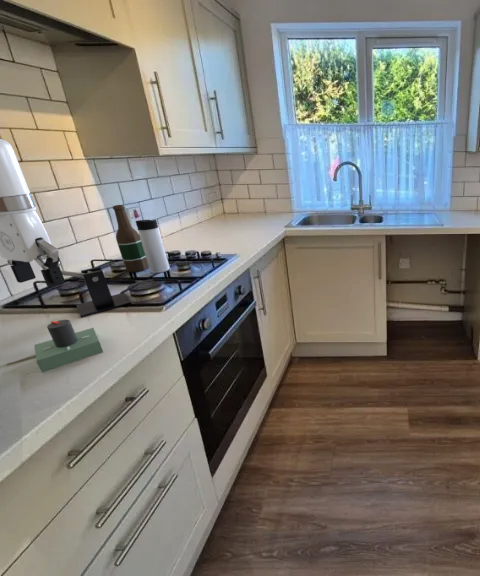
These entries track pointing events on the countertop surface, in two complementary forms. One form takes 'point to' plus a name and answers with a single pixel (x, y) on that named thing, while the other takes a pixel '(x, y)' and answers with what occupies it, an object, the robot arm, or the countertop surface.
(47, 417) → the countertop surface
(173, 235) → the countertop surface
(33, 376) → the countertop surface
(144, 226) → the travel mug
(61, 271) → the toaster lever
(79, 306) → the bracket
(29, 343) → the countertop surface
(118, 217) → the beer bottle
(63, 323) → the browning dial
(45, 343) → the dial block
